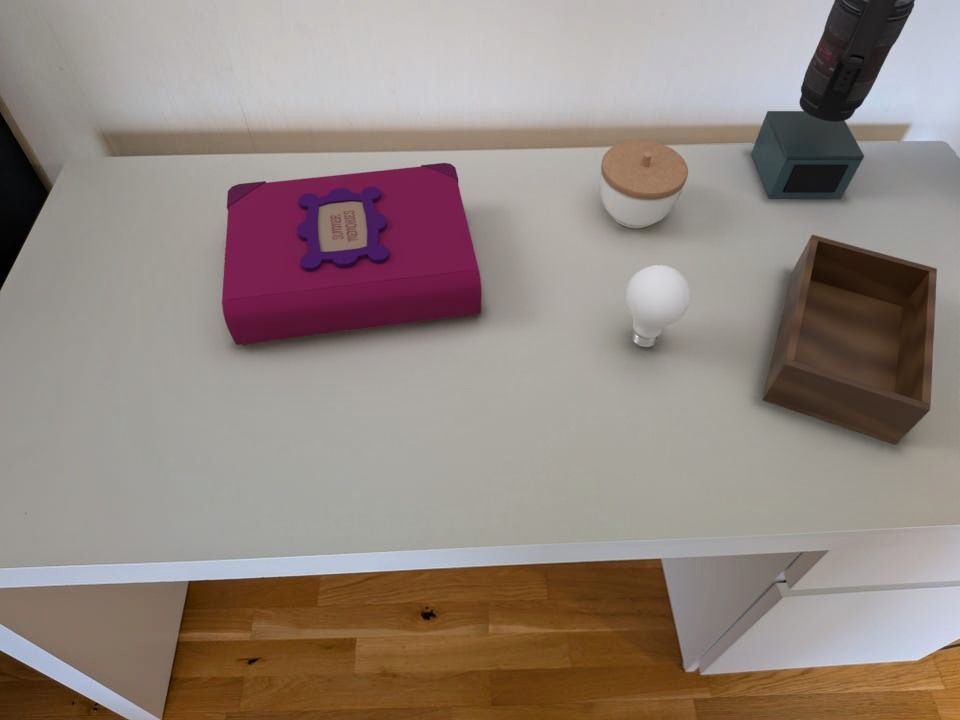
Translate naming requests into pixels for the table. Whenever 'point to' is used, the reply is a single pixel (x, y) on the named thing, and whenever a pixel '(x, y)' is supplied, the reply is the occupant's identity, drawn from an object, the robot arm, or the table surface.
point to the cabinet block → (805, 156)
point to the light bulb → (655, 302)
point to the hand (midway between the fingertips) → (832, 92)
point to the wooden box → (856, 340)
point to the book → (347, 253)
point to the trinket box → (641, 182)
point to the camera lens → (835, 42)
